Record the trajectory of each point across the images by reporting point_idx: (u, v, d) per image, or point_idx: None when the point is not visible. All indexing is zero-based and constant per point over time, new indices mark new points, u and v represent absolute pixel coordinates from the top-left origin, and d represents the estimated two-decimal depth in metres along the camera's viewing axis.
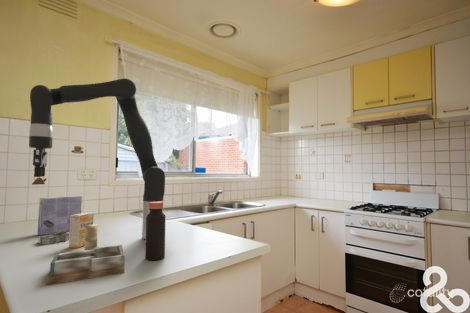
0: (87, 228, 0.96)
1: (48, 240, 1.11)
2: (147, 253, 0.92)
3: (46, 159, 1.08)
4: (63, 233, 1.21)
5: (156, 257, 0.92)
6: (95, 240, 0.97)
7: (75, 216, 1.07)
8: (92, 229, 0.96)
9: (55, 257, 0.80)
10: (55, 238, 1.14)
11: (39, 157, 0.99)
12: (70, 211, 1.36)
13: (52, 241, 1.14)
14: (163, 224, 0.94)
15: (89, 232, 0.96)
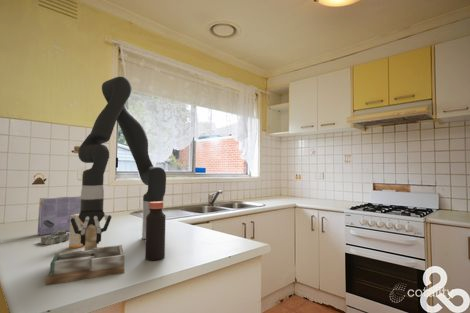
0: (87, 228, 0.96)
1: (52, 240, 1.11)
2: (147, 253, 0.92)
3: None
4: (62, 233, 1.21)
5: (156, 257, 0.92)
6: (95, 240, 0.97)
7: (75, 216, 1.07)
8: (92, 229, 0.96)
9: (55, 257, 0.80)
10: (58, 238, 1.14)
11: None
12: (70, 211, 1.36)
13: (55, 241, 1.14)
14: (163, 224, 0.94)
15: (89, 232, 0.96)
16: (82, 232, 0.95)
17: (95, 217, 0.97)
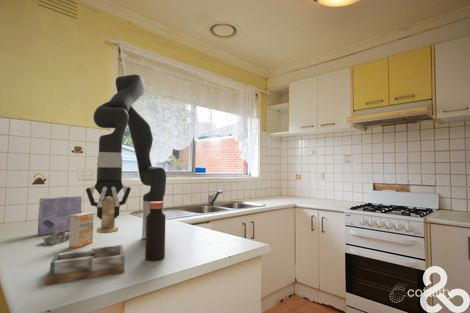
0: (104, 200, 0.85)
1: (58, 240, 1.12)
2: (147, 253, 0.92)
3: None
4: (60, 233, 1.21)
5: (156, 257, 0.92)
6: (113, 214, 0.86)
7: (75, 216, 1.07)
8: (110, 201, 0.86)
9: (55, 257, 0.80)
10: (62, 238, 1.15)
11: None
12: (70, 211, 1.36)
13: (59, 241, 1.14)
14: (163, 224, 0.94)
15: (106, 204, 0.85)
16: (99, 204, 0.85)
17: (113, 188, 0.86)
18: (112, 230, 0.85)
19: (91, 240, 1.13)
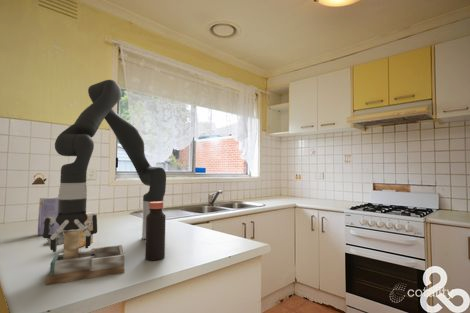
0: (66, 234, 0.80)
1: None
2: (147, 253, 0.92)
3: None
4: (59, 234, 1.20)
5: (156, 257, 0.92)
6: (76, 248, 0.81)
7: None
8: (72, 236, 0.81)
9: (55, 257, 0.80)
10: None
11: None
12: None
13: None
14: (163, 224, 0.94)
15: (68, 239, 0.80)
16: (52, 236, 0.79)
17: (76, 221, 0.81)
18: None
19: (91, 240, 1.13)
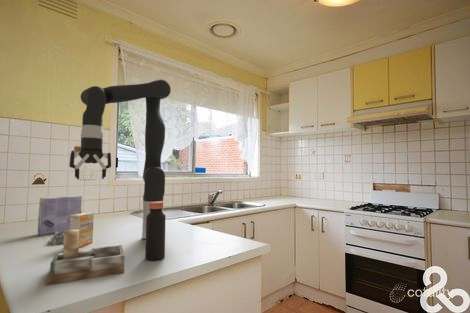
0: (66, 234, 0.80)
1: None
2: (147, 253, 0.92)
3: None
4: (58, 234, 1.20)
5: (156, 257, 0.92)
6: (76, 248, 0.81)
7: (75, 216, 1.07)
8: (72, 236, 0.81)
9: (55, 257, 0.80)
10: None
11: None
12: (70, 211, 1.36)
13: None
14: (163, 224, 0.94)
15: (68, 239, 0.80)
16: (76, 166, 1.00)
17: (94, 155, 1.02)
18: None
19: (91, 240, 1.13)
